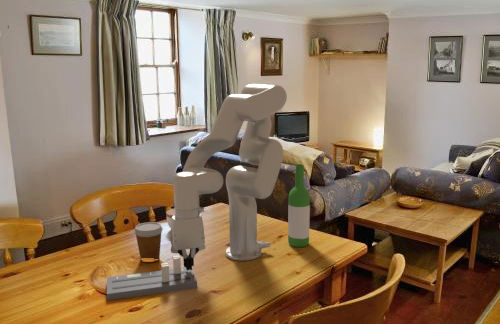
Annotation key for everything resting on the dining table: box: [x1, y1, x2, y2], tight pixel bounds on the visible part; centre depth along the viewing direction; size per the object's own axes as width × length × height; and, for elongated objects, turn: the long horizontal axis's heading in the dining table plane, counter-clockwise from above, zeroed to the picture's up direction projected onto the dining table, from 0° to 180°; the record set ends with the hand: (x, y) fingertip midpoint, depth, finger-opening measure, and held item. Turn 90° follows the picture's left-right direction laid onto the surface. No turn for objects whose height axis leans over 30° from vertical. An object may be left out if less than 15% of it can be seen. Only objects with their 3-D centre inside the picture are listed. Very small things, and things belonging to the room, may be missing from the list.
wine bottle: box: [287, 164, 311, 248], centre depth 172 cm, size 8×8×30 cm
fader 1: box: [160, 262, 170, 282], centre depth 141 cm, size 2×2×5 cm
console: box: [106, 267, 198, 301], centre depth 143 cm, size 26×11×2 cm, turn 106°
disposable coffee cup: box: [133, 221, 164, 260], centre depth 161 cm, size 10×10×12 cm
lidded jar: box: [165, 208, 175, 229], centre depth 190 cm, size 11×11×9 cm
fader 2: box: [172, 254, 182, 274], centre depth 147 cm, size 2×2×5 cm
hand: (188, 268), depth 148 cm, fingers closed
